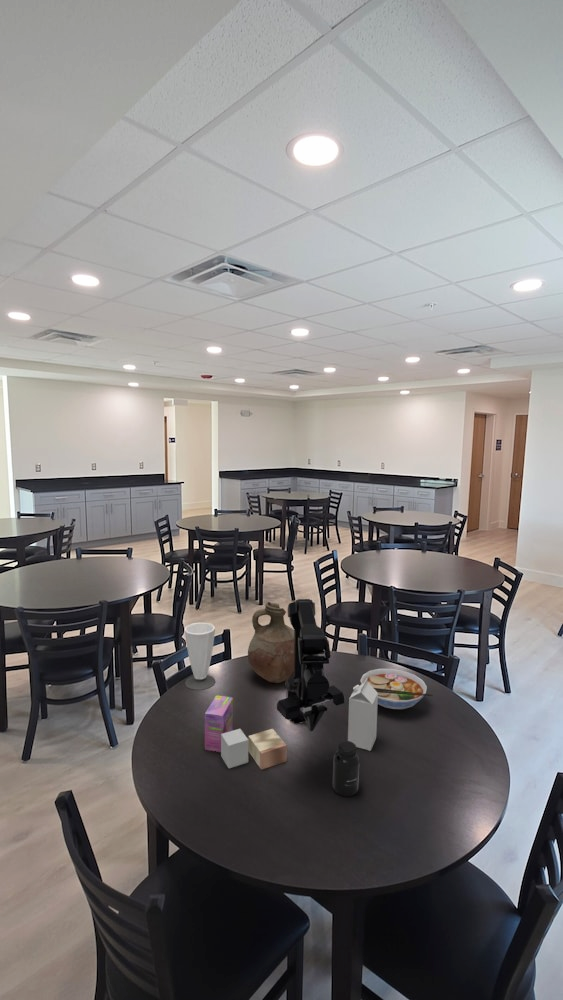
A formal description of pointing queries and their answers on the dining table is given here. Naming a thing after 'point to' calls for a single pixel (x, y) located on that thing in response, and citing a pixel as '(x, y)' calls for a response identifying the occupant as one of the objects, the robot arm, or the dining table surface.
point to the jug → (272, 645)
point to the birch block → (267, 748)
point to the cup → (200, 654)
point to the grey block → (234, 748)
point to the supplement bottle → (346, 769)
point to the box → (218, 722)
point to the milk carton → (363, 716)
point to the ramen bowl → (396, 687)
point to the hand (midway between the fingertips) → (310, 730)
